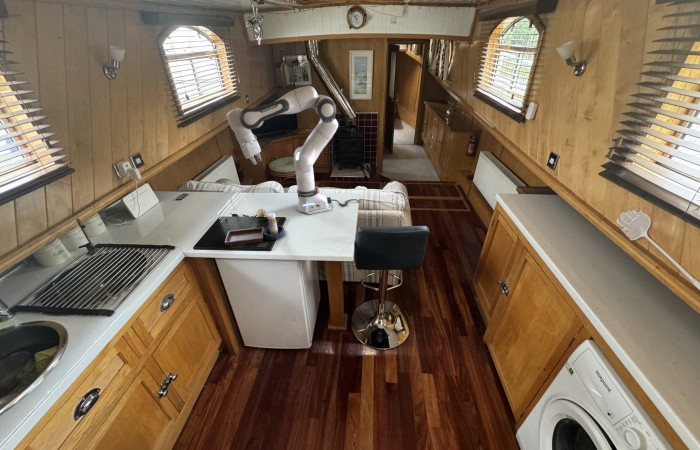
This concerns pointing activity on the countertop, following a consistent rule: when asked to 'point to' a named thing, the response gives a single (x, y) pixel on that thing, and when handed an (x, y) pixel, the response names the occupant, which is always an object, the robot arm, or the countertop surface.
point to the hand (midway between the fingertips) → (258, 162)
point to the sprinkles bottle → (272, 223)
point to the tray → (245, 236)
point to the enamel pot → (274, 237)
